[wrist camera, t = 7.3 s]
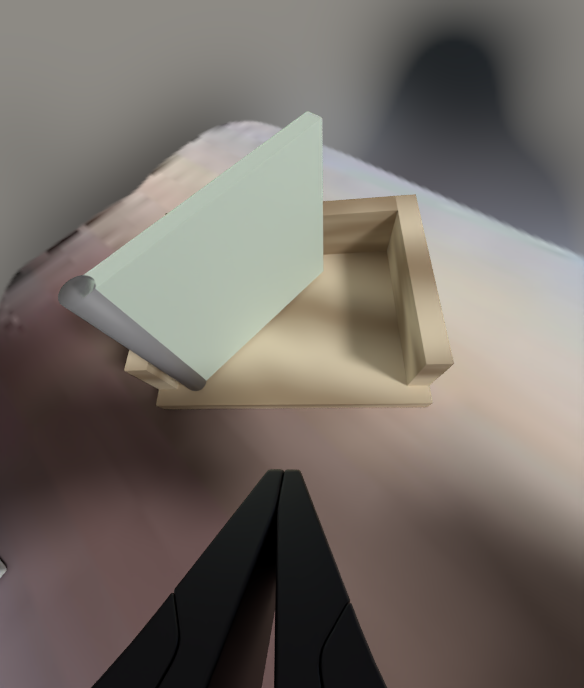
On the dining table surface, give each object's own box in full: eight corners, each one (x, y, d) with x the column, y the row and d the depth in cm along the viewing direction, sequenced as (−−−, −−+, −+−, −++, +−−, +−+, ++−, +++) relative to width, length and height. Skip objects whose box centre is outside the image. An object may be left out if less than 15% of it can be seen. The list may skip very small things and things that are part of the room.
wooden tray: (426, 407, 17) (458, 384, 13) (163, 409, 19) (118, 389, 15) (398, 246, 22) (415, 194, 18) (193, 259, 24) (165, 213, 20)
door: (325, 272, 20) (325, 119, 12) (195, 395, 17) (69, 314, 9) (312, 263, 21) (303, 109, 12) (183, 382, 18) (51, 292, 9)
